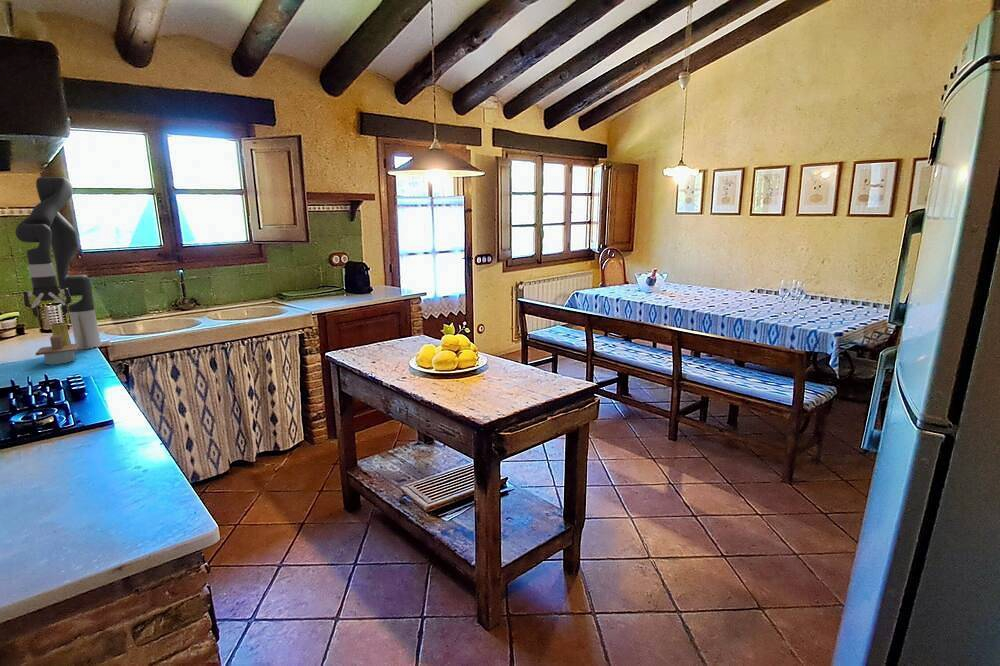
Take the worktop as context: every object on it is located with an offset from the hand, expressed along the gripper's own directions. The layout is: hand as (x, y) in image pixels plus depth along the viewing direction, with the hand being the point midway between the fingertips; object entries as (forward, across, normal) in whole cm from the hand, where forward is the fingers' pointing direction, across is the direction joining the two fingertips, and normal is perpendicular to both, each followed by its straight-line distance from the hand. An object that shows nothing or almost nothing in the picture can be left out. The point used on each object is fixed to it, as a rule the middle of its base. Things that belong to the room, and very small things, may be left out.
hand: (51, 315), depth 210 cm
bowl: (+19, 0, 0) cm, 19 cm away
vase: (+20, 0, -12) cm, 23 cm away
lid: (+14, 0, 0) cm, 14 cm away
